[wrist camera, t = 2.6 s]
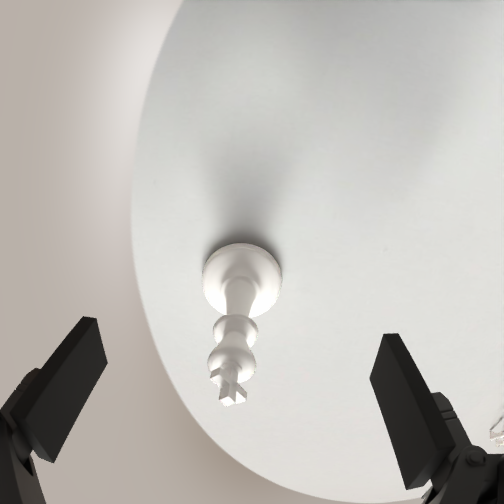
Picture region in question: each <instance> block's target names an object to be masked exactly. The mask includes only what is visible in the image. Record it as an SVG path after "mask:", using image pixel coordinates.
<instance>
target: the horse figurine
mask: <svg viewBox="0 0 504 504" xmlns="http://www.w3.org/2000/svg"><path fill="white" fill-rule="evenodd" d="M501 437H504V431H503V432H500V433H494V432H492V431H490V441H492V440H493V439H495V438H496V447H498V446H500V445H504V440H499V439H497V438H501ZM490 454H491V453H490Z"/></svg>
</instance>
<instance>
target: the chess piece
mask: <svg viewBox="0 0 504 504" xmlns="http://www.w3.org/2000/svg"><path fill="white" fill-rule="evenodd" d="M281 284H282V276H281V271H280V268H279V266H278V264H277V262H276V260H275V259H274V258H273V257H272V256H271V255H270V254H269V253H268V252H267V251H265V250H264V249H262V248H260V247H258V246H255V245H252V244H246V243H235V244H230V245H227V246H224V247H222V248H220V249H219V250H217V251H216V252H214V253H213V254H212V255H211V256H210V258H209V259H208V260H207V262H206V264H205V266H204V269H203V275H202V287H203V291H204V294H205V296H206V298H207V300H208V301H209V303H210V304H211V305H212V306H213V307H214V308H215V309H216V310H218V311H219V312H221V313H223V314H225V315H224V316H222V317H220V318H219V319H218V320H217V321H216V323H215V324H214V327H213V334H214V338H215V340H216V342H217V343H218V344H219V345H218V346H217V347H215V348H214V350H213V351H212V352H211V354H210V356H209V358H208V368H209V371H210V372H211V377H210V379H211V380H212V381H213V382H214V383H215V384H216V385H217V386H219V387H220V388H221V389H220V396H219V401H220V402H222V403H223V404H224V405H225V406H226V407H227V406H229V405H231V404H234V403H237V404H238V403H240V402H243V401H245V400H246V397H247V392H246V391H245V390H244V389H243V388H242V387H241V386H240V385H239V384H238V383H240V382H243V381H246V380H248V379H249V378H250V377H251V376H252V375H253V374H254V372H255V370H256V361H255V358H254V355H253V353H252V352H251V350H250V347H252V346H253V345H254V343H255V342H256V340H257V338H258V328H257V325H256V324H255V322H254V321H253V320H252V319H251V317H255V316H258V315H260V314H262V313H264V312H266V311H267V310H268V309H269V308H271V307H272V306H273V304H274V303H275V302H276V300H277V298H278V296H279V293H280V289H281Z"/></svg>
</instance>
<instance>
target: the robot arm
mask: <svg viewBox="0 0 504 504" xmlns="http://www.w3.org/2000/svg"><path fill="white" fill-rule="evenodd" d="M107 363H108V362H107V359H106V355H105V351H104V348H103V344H102V340H101V336H100V332H99V328H98V323H97V319H96V318H90V317H84V316H83V317H82V318H81V319H80V321H79V322H78V323H77V324H76V326H75V327H74V328H73V329H72V330H71V331H70V333H69V334H68V335H67V336H66V338H65V339H64V340H63V341H62V343H61V344H60V345H59V346H58V348H57V349H56V350H55V352H54V353H53V354H52V355H51V357H50V358H49V359H48V361H47V362H46V363H45V364H44V366H43V367H42V368H41V369H38V368H35V369H33V370H32V371H31V372H29V373H28V374H27V375H26V376H25V377H24V378H23V380H22V381H21V384H19V385H18V386H17V388H16V390H14V392H13V393H12V394H11V396H10V397H9V398H8V400H7V401H6V402H5V404H4V405H3V407H2V408H1V409H0V504H46V502H45V499H44V496H43V493H42V490H41V487H40V483H39V480H38V477H37V473H36V470H35V466H34V463H33V459H32V457H31V455H30V453H31V452H32V450H34V451H35V453H36V454H37V456H38V457H39V458H41V459H44V460H46V461H49V462H51V463H54V462H55V460H56V458H57V456H58V454H59V452H60V450H61V448H62V446H63V444H64V442H65V440H66V438H67V436H68V434H69V432H70V431H71V429H72V427H73V425H74V423H75V421H76V419H77V417H78V415H79V413H80V412H81V410H82V408H83V406H84V404H85V403H86V401H87V399H88V397H89V395H90V393H91V391H92V390H93V388H94V386H95V385H96V383H97V381H98V379H99V378H100V376H101V374H102V372H103V371H104V369H105V367H106V365H107ZM369 379H370V381H371V384H372V387H373V390H374V393H375V395H376V398H377V401H378V404H379V407H380V410H381V413H382V416H383V418H384V421H385V424H386V427H387V430H388V433H389V436H390V439H391V443H392V446H393V449H394V452H395V455H396V458H397V461H398V465H399V468H400V471H401V475H402V478H403V481H404V485H405V488H406V490H409V489H413V488H418V487H422V486H424V485H425V484H426V483H427V481H428V480H429V479H431V482H432V486H431V487H430V489H429V490H428V491H427V492H426V493H425V494H424V495H423V496H422V499H424V498H425V499H424V501H423V503H422V504H504V454H487V453H486V452H485V450H484V449H482V448H481V447H479V446H474V445H472V444H471V442H470V440H469V438H468V436H467V434H466V432H465V430H464V428H463V426H462V424H461V422H460V420H459V418H457V415H456V413H455V411H453V407H452V405H451V403H450V402H449V400H448V399H447V398H446V397H445V396H444V395H443V394H442V393H441V392H437V393H431V392H430V390H429V388H428V386H427V385H426V383H425V381H424V379H423V377H422V375H421V373H420V371H419V370H418V368H417V366H416V364H415V362H414V360H413V359H412V357H411V355H410V353H409V351H408V350H407V348H406V346H405V344H404V343H403V341H402V339H401V337H400V336H399V334H398V333H393V334H383V337H382V340H381V344H380V347H379V350H378V354H377V357H376V360H375V363H374V366H373V369H372V372H371V375H370V378H369Z"/></svg>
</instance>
